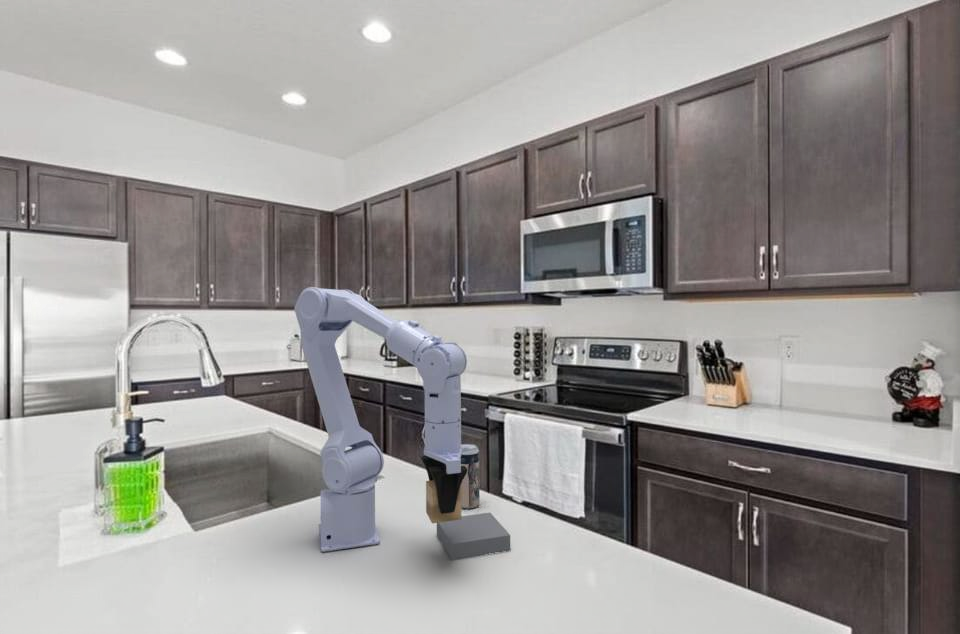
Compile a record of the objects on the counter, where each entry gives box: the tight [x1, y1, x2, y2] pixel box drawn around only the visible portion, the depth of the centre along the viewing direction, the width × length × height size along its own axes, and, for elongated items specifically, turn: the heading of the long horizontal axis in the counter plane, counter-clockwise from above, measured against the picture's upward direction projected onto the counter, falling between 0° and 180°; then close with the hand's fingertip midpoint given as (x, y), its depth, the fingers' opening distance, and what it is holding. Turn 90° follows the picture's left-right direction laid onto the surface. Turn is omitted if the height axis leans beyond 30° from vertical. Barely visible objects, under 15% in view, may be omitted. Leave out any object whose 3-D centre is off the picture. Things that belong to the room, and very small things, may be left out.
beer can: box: [460, 443, 480, 510], centre depth 100 cm, size 5×5×12 cm
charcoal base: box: [436, 512, 511, 561], centre depth 83 cm, size 10×10×3 cm
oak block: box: [425, 480, 462, 524], centre depth 77 cm, size 5×5×5 cm
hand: (443, 506), depth 77 cm, fingers closed on oak block, 5 cm apart
